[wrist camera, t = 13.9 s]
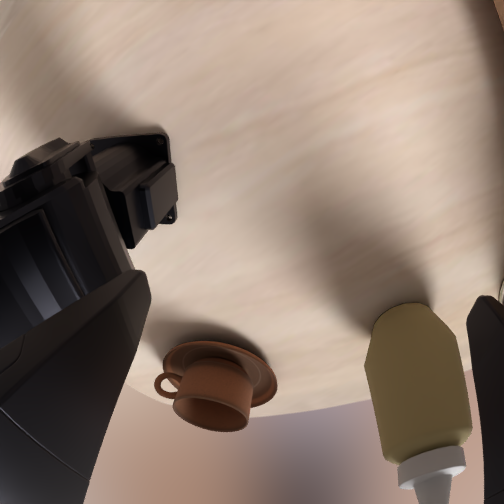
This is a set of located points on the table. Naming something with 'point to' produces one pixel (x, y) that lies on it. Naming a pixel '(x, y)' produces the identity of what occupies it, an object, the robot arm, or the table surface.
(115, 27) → the table surface
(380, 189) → the table surface
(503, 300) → the coffee can
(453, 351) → the squeeze bottle
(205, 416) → the cup and saucer
